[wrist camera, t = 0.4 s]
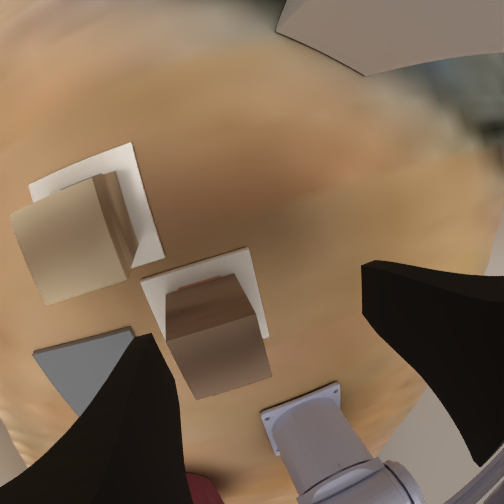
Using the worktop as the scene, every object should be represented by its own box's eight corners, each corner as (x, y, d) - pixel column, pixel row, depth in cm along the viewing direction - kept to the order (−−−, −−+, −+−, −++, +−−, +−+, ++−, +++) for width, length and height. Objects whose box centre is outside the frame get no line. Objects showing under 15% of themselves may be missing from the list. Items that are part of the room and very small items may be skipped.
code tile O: (165, 255, 17) (165, 258, 17) (68, 286, 16) (66, 289, 16) (132, 142, 14) (131, 142, 14) (31, 184, 13) (28, 184, 13)
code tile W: (267, 333, 21) (269, 336, 21) (177, 361, 20) (177, 365, 19) (247, 247, 18) (249, 249, 18) (140, 279, 17) (140, 282, 17)
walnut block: (249, 329, 20) (272, 376, 15) (188, 348, 19) (196, 400, 15) (234, 273, 18) (256, 313, 14) (165, 294, 17) (165, 341, 13)
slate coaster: (177, 408, 21) (177, 412, 21) (90, 424, 20) (89, 428, 19) (130, 326, 18) (129, 330, 17) (34, 351, 16) (32, 355, 16)
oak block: (138, 244, 16) (127, 280, 11) (74, 266, 15) (45, 305, 11) (115, 170, 14) (91, 177, 10) (49, 197, 14) (8, 215, 9)
